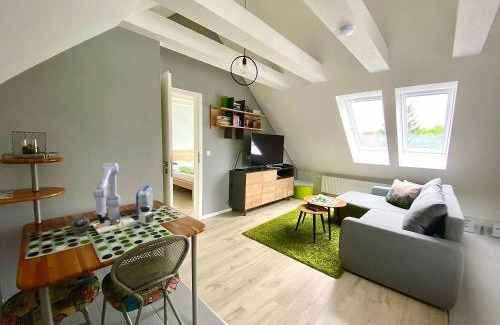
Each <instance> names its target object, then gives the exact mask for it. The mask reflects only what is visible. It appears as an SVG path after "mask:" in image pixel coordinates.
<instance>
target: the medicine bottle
mask: <svg viewBox="0 0 500 325" xmlns="http://www.w3.org/2000/svg"><path fill="white" fill-rule="evenodd" d="M153 222H154V213H153V212H152V211H151V212H150V207H149V206H144V207H142V208H141V213H140V214H139V215H138V223H139V224H143V225H148V224H150V223H153Z"/></svg>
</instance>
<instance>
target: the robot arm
mask: <svg viewBox="0 0 500 325" xmlns="http://www.w3.org/2000/svg"><path fill="white" fill-rule="evenodd" d="M119 168H120V166H119V164H118V162H106V163H104V162H103V163H102V165H101V169H102V176H101V177H102V178H101V179H100V180H99V182H98V183H97V188H96V189H94V191H93V197H94V200H95V208H96V211H95V212H94V214H95V215H96V216H97V218H98V220H99V222H100V223H103V222H105V221H106V217H107V218H108V219H109V220H111V219H114V218H121V217H122V215H120V206H121V204H122V197H121V195H119V194H118V191H117V189H118V188H117V184H118V183H117V181H118V180H117V177H118V176H117V175H118V174H119V171H120V169H119ZM108 185H109V187H108ZM108 188H109V190H108ZM108 191H109V194H108ZM107 194H108V195H107ZM107 212H108V214H107Z"/></svg>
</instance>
